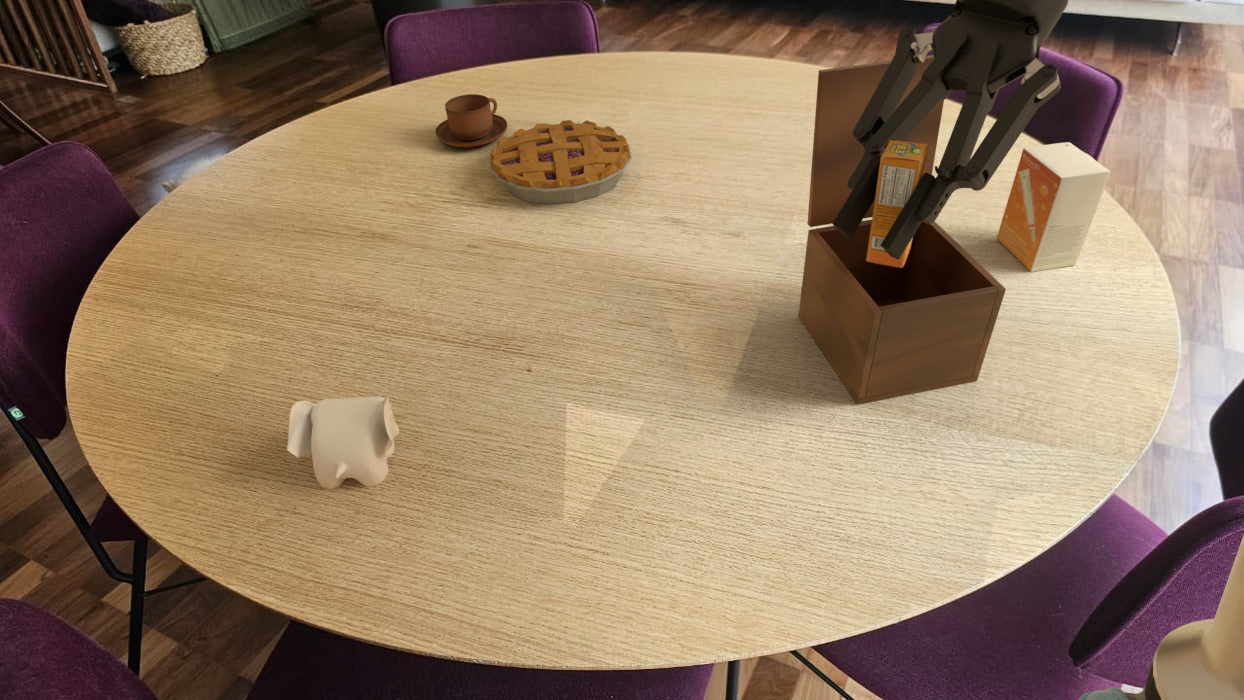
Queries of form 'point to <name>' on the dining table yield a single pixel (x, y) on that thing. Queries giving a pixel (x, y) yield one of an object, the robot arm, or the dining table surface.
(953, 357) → the chest
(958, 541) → the dining table surface
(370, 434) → the elephant figurine
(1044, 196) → the small box
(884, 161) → the supplement box
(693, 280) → the dining table surface
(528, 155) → the pie
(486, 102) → the cup and saucer
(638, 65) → the dining table surface
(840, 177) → the lid
